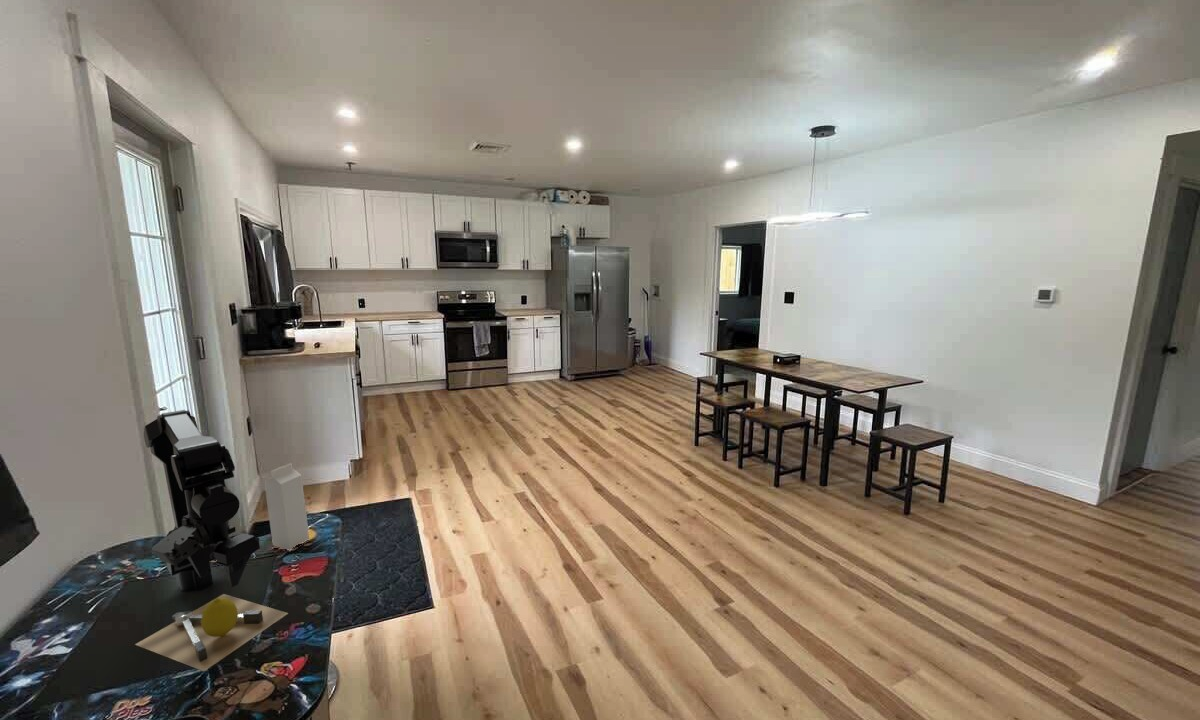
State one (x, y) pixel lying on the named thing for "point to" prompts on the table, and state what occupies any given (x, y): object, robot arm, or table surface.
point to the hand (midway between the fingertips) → (218, 580)
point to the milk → (286, 507)
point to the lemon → (219, 617)
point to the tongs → (188, 620)
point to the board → (180, 648)
